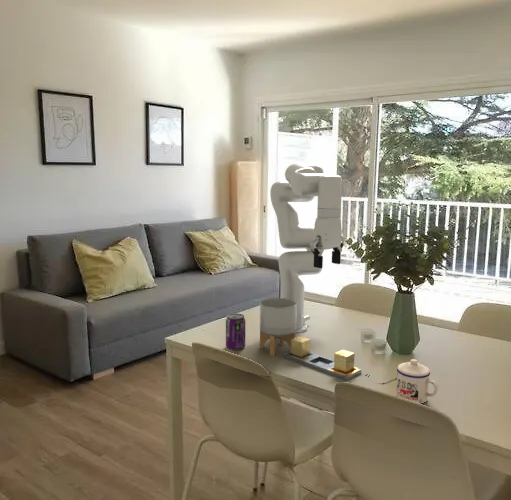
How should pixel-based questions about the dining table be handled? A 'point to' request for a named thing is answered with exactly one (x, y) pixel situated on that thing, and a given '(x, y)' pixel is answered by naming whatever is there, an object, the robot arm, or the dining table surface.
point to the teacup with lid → (414, 382)
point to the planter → (277, 322)
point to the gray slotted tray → (322, 365)
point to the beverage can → (235, 331)
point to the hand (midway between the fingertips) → (327, 265)
